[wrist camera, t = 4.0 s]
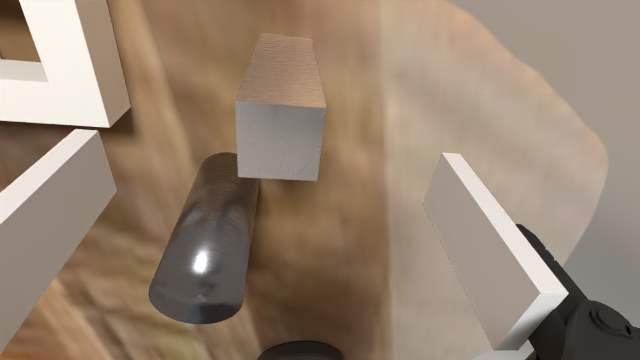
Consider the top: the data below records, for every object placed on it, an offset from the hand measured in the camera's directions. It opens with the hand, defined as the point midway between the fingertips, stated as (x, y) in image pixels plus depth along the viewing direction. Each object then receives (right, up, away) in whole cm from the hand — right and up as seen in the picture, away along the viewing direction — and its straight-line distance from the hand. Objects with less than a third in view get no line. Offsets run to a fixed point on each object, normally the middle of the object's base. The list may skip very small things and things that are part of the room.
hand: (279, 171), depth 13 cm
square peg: (-1, +9, +14) cm, 17 cm away
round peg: (-7, 0, +20) cm, 21 cm away
